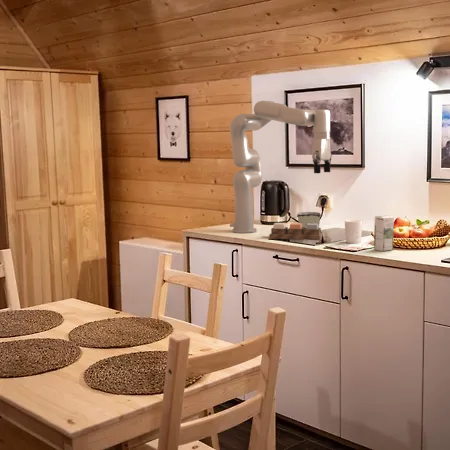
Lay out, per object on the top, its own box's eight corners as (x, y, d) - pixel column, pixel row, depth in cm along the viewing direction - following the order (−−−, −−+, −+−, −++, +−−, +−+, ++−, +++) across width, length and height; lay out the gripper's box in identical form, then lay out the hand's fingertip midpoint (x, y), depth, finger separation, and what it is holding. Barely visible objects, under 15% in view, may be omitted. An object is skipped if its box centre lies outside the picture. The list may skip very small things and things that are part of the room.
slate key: (306, 231, 327) (306, 224, 326) (308, 229, 331) (308, 223, 331) (317, 231, 325) (317, 224, 325) (318, 229, 330) (318, 223, 330)
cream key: (273, 230, 331) (273, 224, 331) (275, 228, 336) (275, 222, 335) (283, 230, 330) (283, 224, 329) (285, 229, 334) (285, 223, 334)
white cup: (344, 241, 318) (344, 219, 317) (362, 241, 317) (362, 219, 316) (344, 243, 310) (344, 221, 309) (362, 243, 309) (362, 221, 308)
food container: (320, 231, 352) (320, 211, 351) (321, 232, 346) (321, 213, 345) (296, 231, 353) (296, 211, 352) (296, 233, 347) (296, 213, 346)
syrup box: (384, 248, 296) (384, 215, 294) (393, 250, 290) (394, 216, 289) (373, 249, 293) (374, 215, 291) (383, 251, 288) (383, 217, 286)
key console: (269, 238, 330) (269, 229, 329) (273, 235, 339) (273, 226, 339) (319, 239, 323) (319, 230, 322) (322, 236, 333) (322, 227, 332)
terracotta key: (289, 230, 329) (289, 224, 329) (291, 229, 334) (291, 223, 333) (300, 230, 328) (300, 224, 327) (302, 229, 332) (302, 223, 332)
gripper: (323, 136, 332) (323, 171, 335) (305, 136, 319) (306, 173, 321) (337, 135, 328) (337, 171, 330) (320, 136, 314) (320, 173, 316)
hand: (322, 172), depth 326 cm, fingers open, 9 cm apart
